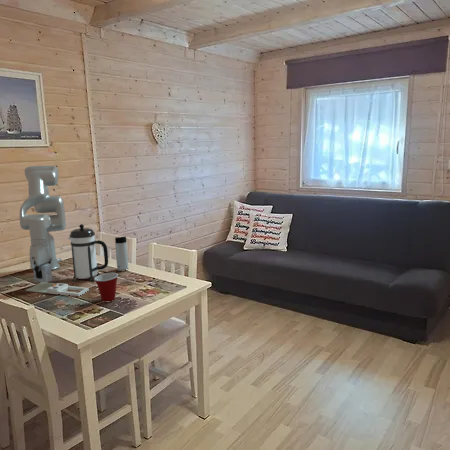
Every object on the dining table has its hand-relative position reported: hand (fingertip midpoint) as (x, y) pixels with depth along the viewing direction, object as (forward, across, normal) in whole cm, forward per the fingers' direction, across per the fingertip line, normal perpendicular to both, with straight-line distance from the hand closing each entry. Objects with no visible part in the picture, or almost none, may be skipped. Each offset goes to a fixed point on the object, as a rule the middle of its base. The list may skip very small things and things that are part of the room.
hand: (43, 276), depth 203 cm
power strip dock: (+6, +2, +16) cm, 17 cm away
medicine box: (+3, 0, 0) cm, 3 cm away
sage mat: (+6, 0, 0) cm, 6 cm away
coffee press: (+6, -19, +13) cm, 24 cm away
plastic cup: (+7, +6, +41) cm, 42 cm away
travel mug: (+6, -36, +24) cm, 44 cm away
